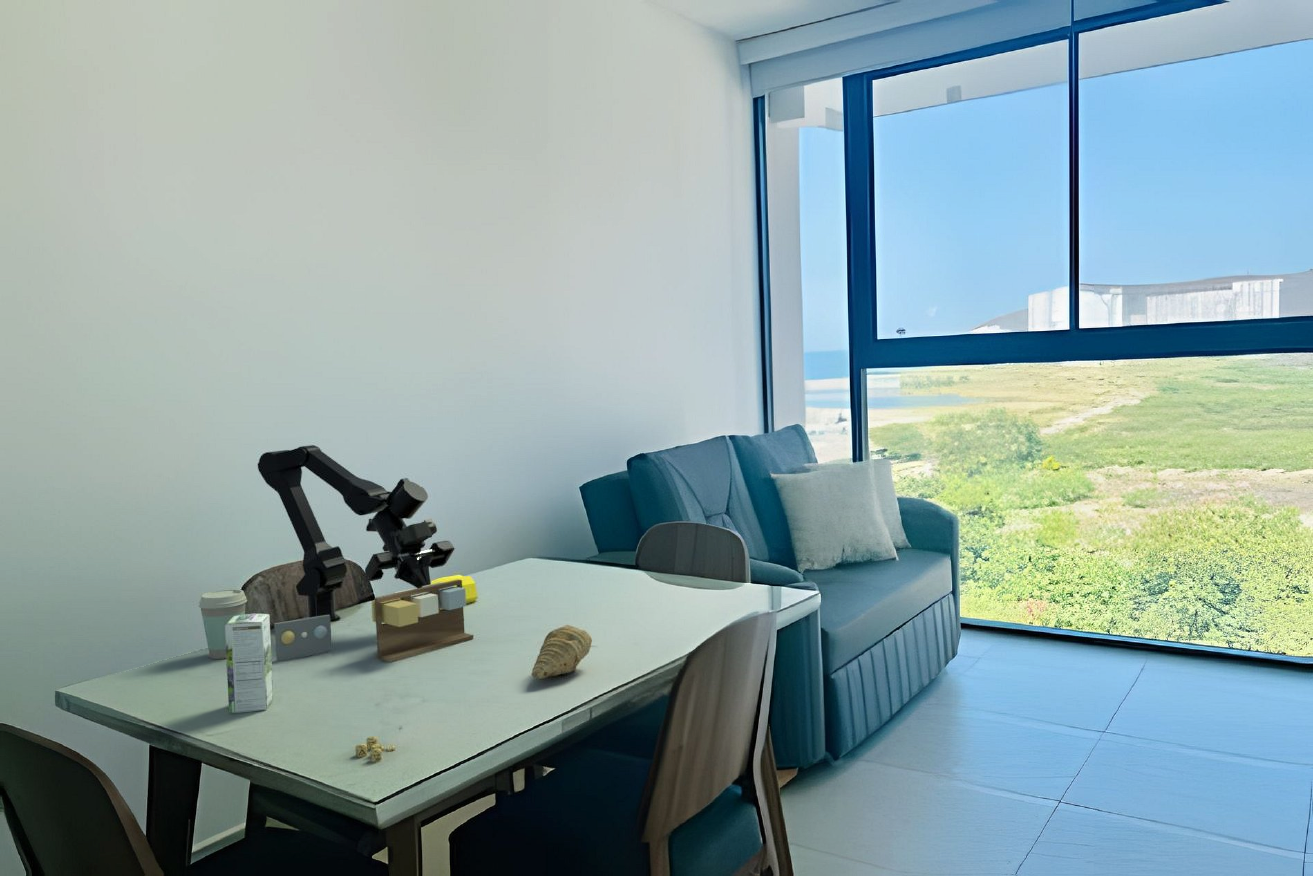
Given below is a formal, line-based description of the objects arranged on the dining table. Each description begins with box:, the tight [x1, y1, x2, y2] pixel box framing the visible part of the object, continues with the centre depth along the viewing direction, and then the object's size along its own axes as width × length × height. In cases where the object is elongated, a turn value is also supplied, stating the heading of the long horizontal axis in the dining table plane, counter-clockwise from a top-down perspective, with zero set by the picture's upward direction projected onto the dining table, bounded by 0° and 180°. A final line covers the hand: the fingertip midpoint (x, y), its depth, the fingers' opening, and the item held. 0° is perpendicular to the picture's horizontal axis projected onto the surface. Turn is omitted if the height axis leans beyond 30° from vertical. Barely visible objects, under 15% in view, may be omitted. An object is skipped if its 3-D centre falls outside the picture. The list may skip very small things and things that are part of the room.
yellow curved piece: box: [430, 574, 479, 610], centre depth 220 cm, size 18×7×8 cm
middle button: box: [392, 587, 439, 617], centre depth 187 cm, size 9×4×4 cm, turn 48°
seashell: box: [531, 624, 593, 680], centre depth 166 cm, size 14×8×8 cm, turn 160°
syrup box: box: [225, 613, 274, 714], centre depth 155 cm, size 6×6×14 cm
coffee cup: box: [198, 588, 248, 660], centre depth 187 cm, size 8×9×12 cm
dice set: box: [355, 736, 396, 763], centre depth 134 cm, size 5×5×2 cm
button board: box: [374, 579, 474, 663], centre depth 186 cm, size 4×19×12 cm, turn 138°
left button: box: [371, 599, 418, 627], centre depth 181 cm, size 9×4×4 cm, turn 48°
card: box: [273, 615, 333, 662], centre depth 184 cm, size 1×10×7 cm, turn 124°
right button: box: [422, 582, 467, 610], centre depth 192 cm, size 9×4×4 cm, turn 48°
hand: (429, 591), depth 196 cm, fingers closed
